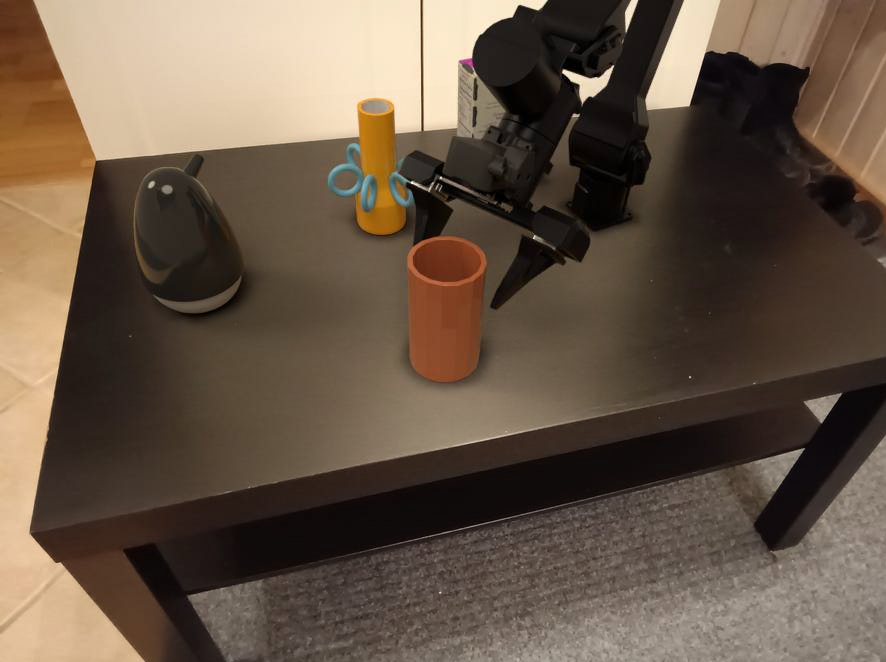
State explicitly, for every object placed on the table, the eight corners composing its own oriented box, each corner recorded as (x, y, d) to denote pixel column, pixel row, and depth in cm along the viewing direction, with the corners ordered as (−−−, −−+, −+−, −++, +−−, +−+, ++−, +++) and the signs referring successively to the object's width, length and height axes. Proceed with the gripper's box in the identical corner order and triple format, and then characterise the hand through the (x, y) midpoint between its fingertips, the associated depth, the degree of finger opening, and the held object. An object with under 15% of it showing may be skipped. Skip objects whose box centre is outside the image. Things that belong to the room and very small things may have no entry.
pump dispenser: (269, 278, 78) (244, 155, 67) (215, 338, 71) (177, 213, 60) (190, 255, 80) (153, 133, 69) (130, 312, 73) (78, 186, 62)
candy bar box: (524, 163, 98) (538, 44, 86) (543, 181, 95) (559, 60, 83) (453, 179, 94) (456, 57, 82) (469, 199, 91) (476, 75, 79)
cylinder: (409, 258, 82) (407, 141, 71) (324, 243, 83) (309, 126, 72) (435, 201, 90) (436, 89, 79) (357, 188, 91) (348, 76, 81)
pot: (458, 325, 75) (462, 228, 66) (491, 368, 71) (500, 271, 62) (398, 346, 72) (394, 248, 63) (429, 392, 68) (429, 294, 59)
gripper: (408, 63, 60) (330, 227, 62) (598, 135, 53) (506, 318, 55) (459, 116, 71) (391, 256, 72) (624, 182, 64) (546, 335, 65)
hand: (452, 288), depth 66 cm, fingers open, 9 cm apart
